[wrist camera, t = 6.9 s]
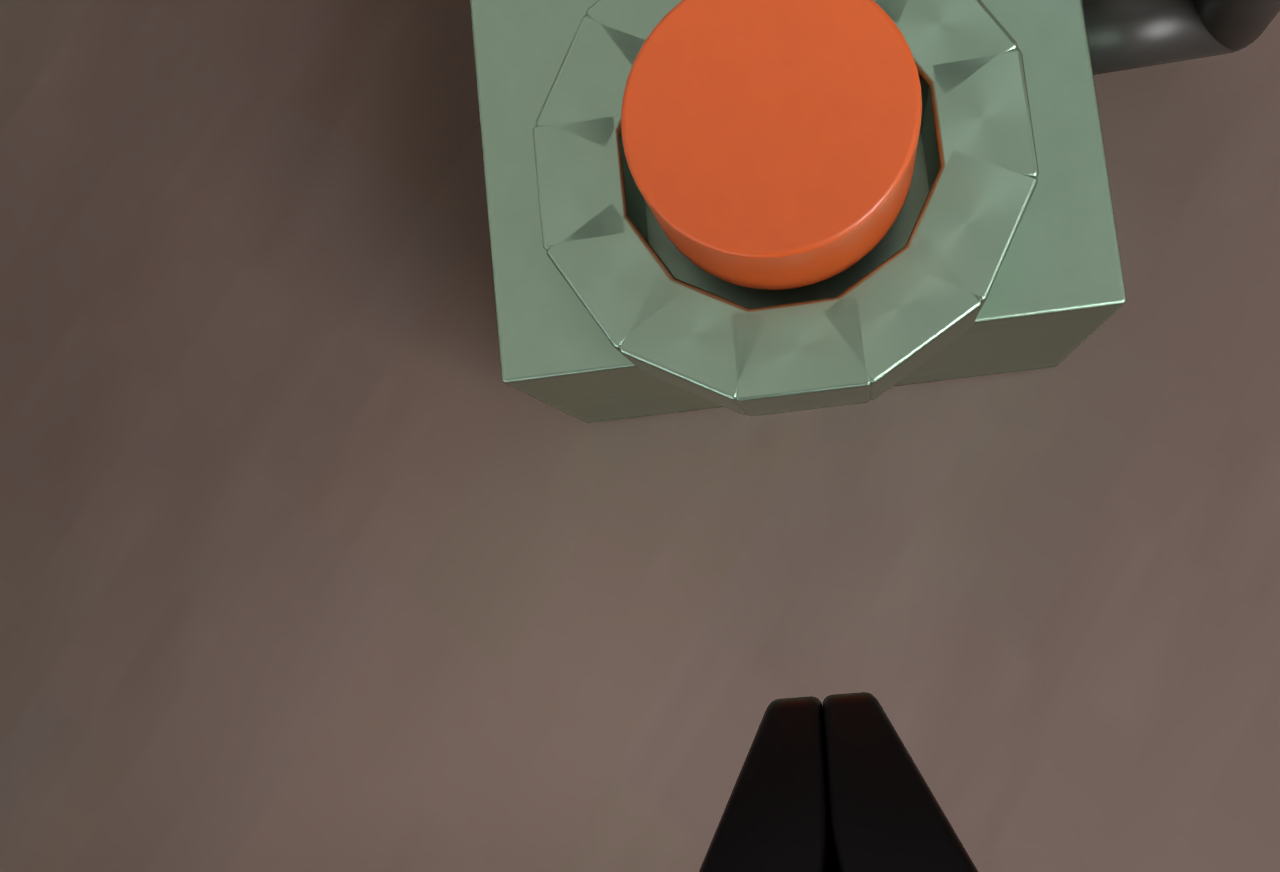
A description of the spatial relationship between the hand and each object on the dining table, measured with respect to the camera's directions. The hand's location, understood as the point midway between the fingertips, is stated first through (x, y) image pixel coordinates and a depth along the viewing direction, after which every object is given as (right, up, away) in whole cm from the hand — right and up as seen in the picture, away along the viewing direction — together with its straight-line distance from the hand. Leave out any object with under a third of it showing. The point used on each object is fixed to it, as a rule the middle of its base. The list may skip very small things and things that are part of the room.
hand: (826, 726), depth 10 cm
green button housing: (+1, +9, +14) cm, 16 cm away
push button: (0, +6, +6) cm, 9 cm away
